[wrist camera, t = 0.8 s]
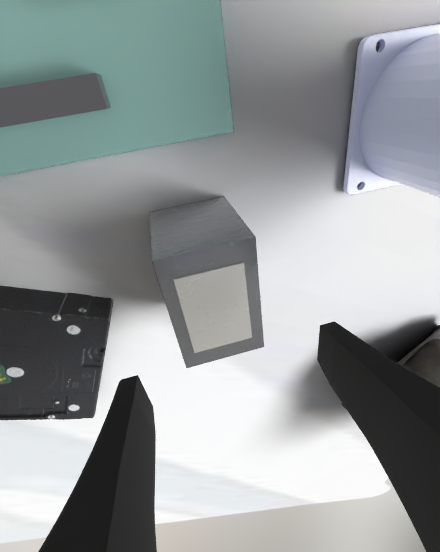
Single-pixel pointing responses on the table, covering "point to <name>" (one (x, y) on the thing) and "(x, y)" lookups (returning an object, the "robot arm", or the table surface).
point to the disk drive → (51, 353)
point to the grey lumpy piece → (425, 359)
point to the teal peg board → (108, 78)
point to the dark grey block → (208, 279)
